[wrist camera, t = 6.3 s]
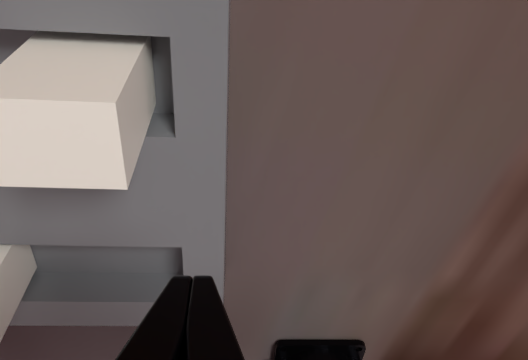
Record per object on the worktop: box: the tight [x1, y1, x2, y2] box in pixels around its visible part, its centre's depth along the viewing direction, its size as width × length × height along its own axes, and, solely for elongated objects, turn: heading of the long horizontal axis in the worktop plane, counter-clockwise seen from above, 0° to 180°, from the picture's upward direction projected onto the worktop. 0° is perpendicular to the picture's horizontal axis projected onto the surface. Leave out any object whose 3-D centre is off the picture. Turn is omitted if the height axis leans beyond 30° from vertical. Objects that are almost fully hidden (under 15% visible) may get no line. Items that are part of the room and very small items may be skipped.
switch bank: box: [0, 0, 230, 326], centre depth 21 cm, size 18×18×5 cm
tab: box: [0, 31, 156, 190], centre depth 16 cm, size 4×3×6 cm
